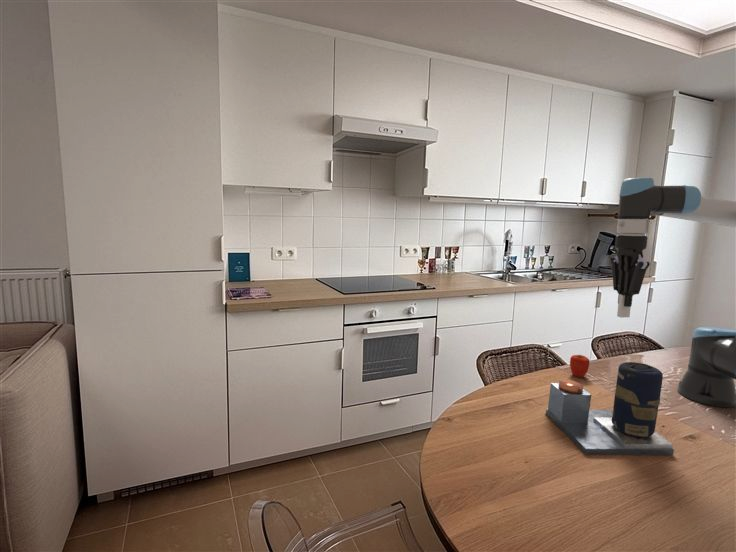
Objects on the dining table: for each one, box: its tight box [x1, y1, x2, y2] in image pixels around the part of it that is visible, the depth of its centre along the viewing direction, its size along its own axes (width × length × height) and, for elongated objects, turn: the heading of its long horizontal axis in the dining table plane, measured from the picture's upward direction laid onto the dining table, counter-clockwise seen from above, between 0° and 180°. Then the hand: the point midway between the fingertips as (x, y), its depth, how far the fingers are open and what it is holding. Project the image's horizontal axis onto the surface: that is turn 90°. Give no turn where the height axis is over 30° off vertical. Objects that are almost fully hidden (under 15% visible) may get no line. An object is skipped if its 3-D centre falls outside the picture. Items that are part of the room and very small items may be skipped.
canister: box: [612, 361, 664, 437], centre depth 105 cm, size 10×10×18 cm
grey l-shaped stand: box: [545, 382, 675, 456], centre depth 109 cm, size 22×20×10 cm
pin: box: [558, 379, 584, 393], centre depth 114 cm, size 6×6×9 cm
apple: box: [569, 354, 590, 378], centre depth 148 cm, size 6×6×8 cm
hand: (623, 316), depth 119 cm, fingers closed
